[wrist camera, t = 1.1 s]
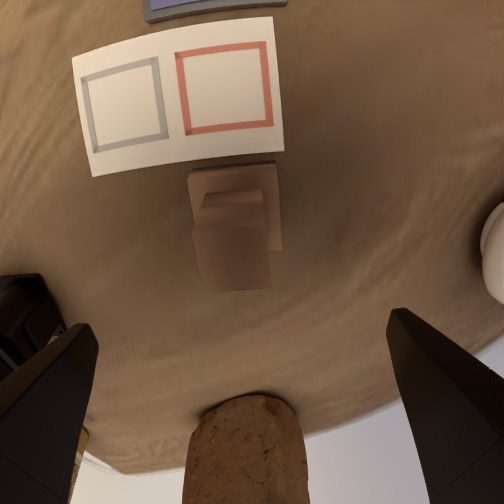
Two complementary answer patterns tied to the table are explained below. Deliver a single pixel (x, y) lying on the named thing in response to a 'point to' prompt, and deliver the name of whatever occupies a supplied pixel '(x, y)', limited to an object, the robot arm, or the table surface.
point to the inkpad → (197, 7)
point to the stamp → (235, 224)
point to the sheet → (181, 96)
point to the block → (247, 455)
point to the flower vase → (494, 253)
